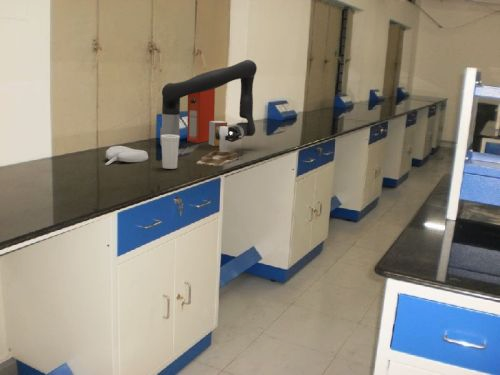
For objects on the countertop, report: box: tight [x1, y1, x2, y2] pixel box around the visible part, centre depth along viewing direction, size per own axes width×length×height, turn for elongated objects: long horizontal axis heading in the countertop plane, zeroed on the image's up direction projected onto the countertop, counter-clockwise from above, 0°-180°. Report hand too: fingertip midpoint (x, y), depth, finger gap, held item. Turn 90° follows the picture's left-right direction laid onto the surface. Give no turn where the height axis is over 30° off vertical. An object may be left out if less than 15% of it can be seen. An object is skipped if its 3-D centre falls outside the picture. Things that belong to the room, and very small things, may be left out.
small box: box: [208, 120, 228, 147], centre depth 304 cm, size 8×6×13 cm
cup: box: [161, 134, 180, 170], centre depth 239 cm, size 8×8×14 cm
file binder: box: [186, 88, 216, 144], centre depth 314 cm, size 8×17×32 cm, turn 156°
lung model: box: [104, 145, 149, 166], centre depth 251 cm, size 7×17×25 cm
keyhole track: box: [196, 150, 239, 167], centre depth 260 cm, size 12×22×3 cm, turn 161°
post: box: [218, 125, 229, 152], centre depth 264 cm, size 4×4×12 cm
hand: (221, 137), depth 261 cm, fingers closed on post, 4 cm apart
